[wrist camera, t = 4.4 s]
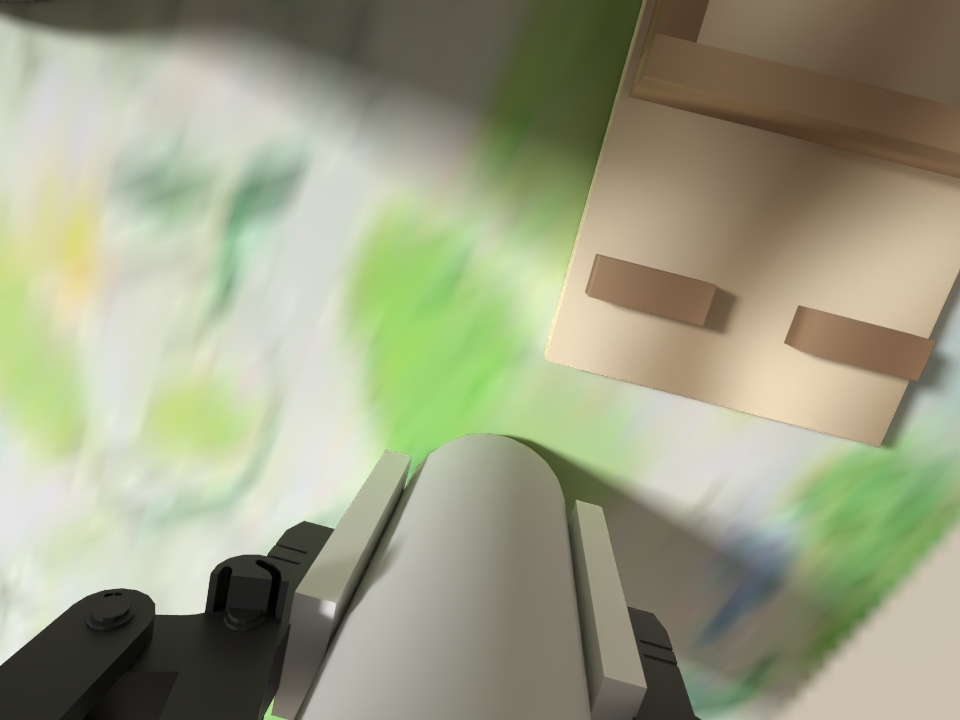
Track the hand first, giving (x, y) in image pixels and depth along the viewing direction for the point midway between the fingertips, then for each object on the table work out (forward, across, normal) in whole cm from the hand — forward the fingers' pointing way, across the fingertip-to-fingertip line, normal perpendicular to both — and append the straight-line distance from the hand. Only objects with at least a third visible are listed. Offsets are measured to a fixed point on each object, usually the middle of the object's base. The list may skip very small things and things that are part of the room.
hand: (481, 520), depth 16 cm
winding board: (+1, +5, +13) cm, 14 cm away
